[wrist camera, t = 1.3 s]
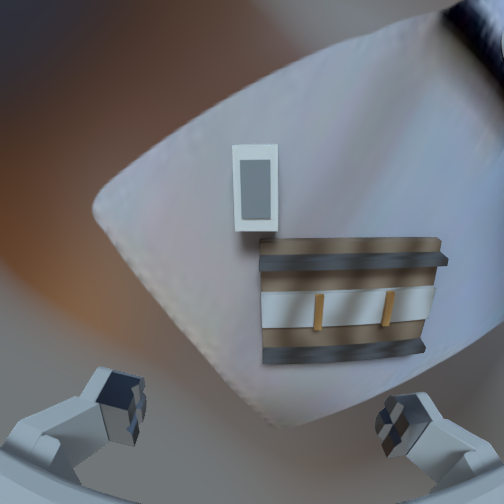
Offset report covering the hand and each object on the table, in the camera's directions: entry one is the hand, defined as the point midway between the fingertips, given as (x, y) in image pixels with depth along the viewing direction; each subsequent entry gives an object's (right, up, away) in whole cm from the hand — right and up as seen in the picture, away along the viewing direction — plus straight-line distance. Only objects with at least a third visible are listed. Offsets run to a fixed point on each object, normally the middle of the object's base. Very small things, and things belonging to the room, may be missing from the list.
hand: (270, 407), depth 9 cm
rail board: (+13, -2, +31) cm, 34 cm away
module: (0, +13, +27) cm, 30 cm away
